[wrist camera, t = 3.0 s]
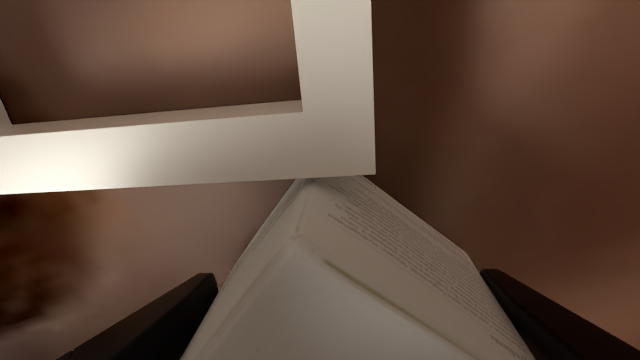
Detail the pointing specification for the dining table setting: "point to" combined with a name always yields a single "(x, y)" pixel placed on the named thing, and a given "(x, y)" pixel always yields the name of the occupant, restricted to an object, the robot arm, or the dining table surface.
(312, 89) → the frame
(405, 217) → the small box
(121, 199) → the dining table surface
